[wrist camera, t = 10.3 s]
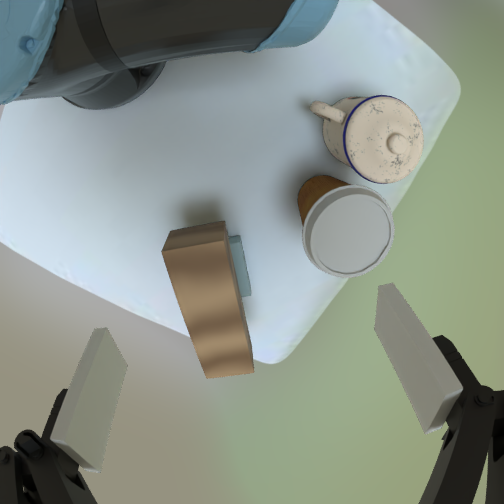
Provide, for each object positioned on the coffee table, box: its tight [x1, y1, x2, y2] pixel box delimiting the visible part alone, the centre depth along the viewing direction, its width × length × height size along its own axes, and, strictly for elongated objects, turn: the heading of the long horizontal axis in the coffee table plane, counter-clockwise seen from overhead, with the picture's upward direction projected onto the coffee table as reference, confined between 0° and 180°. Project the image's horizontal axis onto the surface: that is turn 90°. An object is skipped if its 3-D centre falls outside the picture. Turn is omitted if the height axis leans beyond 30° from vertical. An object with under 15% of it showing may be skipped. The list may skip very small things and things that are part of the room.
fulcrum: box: [228, 236, 251, 297], centre depth 40 cm, size 8×8×6 cm
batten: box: [161, 221, 254, 379], centre depth 35 cm, size 18×6×5 cm, turn 9°
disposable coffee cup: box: [298, 175, 394, 278], centre depth 34 cm, size 10×10×12 cm
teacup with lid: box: [310, 95, 424, 184], centre depth 30 cm, size 12×9×12 cm
